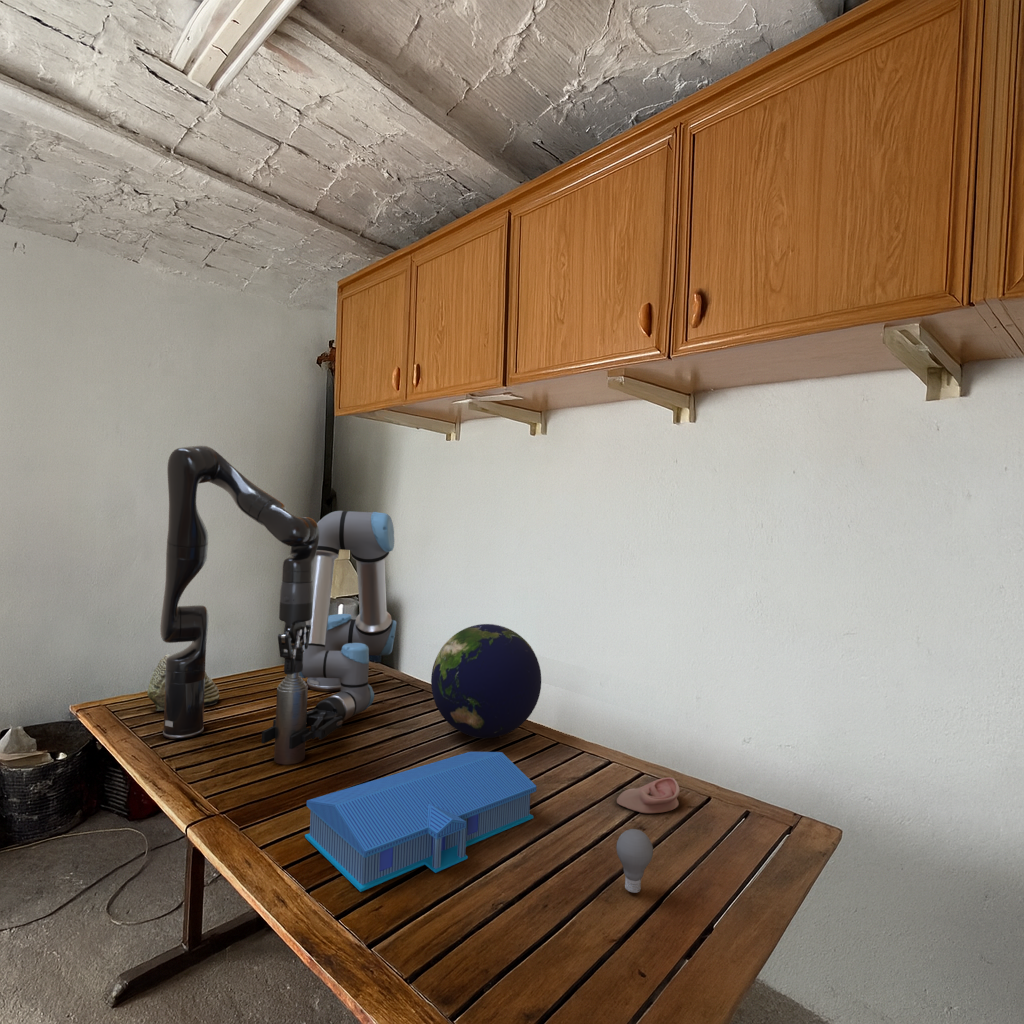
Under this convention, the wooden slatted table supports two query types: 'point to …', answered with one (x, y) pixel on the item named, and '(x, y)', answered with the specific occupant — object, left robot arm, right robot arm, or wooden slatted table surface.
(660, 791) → the anatomical model
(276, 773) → the wooden slatted table surface
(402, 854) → the model building
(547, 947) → the wooden slatted table surface
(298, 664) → the cap
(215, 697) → the fossil
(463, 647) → the globe
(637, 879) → the light bulb
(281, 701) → the bottle
